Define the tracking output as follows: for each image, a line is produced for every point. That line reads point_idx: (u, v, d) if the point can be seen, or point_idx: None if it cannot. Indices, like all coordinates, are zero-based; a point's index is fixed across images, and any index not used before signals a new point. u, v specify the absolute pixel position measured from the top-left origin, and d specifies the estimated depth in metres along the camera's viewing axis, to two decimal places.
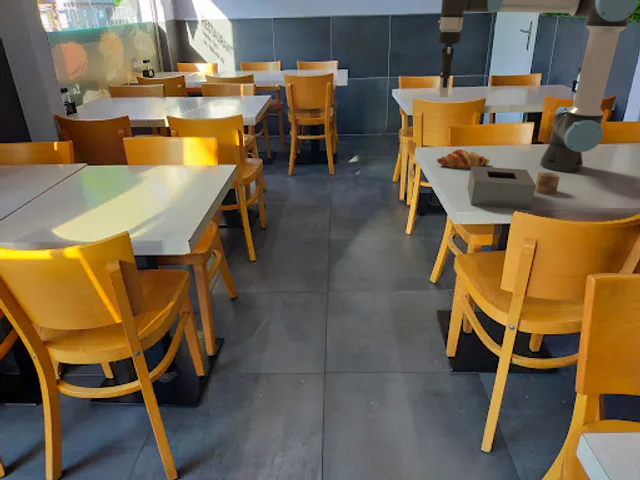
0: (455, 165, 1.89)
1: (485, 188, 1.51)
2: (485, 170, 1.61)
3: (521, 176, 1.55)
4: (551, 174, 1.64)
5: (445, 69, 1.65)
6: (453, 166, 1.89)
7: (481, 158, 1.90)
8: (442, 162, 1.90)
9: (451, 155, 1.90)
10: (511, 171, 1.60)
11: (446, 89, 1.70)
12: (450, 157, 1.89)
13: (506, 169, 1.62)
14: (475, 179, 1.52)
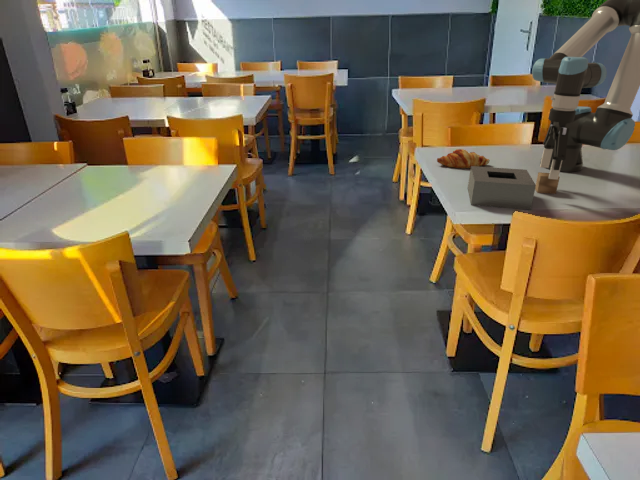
0: (455, 165, 1.89)
1: (485, 188, 1.51)
2: (485, 170, 1.61)
3: (521, 176, 1.55)
4: None
5: (560, 152, 1.51)
6: (453, 166, 1.89)
7: (481, 158, 1.90)
8: (442, 162, 1.90)
9: (451, 155, 1.90)
10: (511, 171, 1.60)
11: (557, 171, 1.56)
12: (450, 157, 1.90)
13: (506, 169, 1.62)
14: (475, 179, 1.52)
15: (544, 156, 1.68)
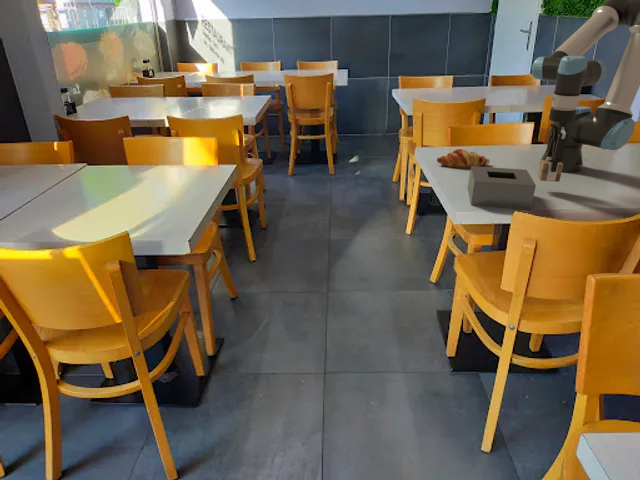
0: (454, 164, 1.89)
1: (485, 188, 1.51)
2: (485, 170, 1.61)
3: (521, 176, 1.55)
4: None
5: (557, 155, 1.56)
6: (452, 165, 1.90)
7: (481, 158, 1.91)
8: (442, 161, 1.91)
9: (451, 154, 1.90)
10: (511, 171, 1.60)
11: (554, 173, 1.61)
12: (450, 156, 1.90)
13: (506, 169, 1.62)
14: (475, 179, 1.52)
15: None
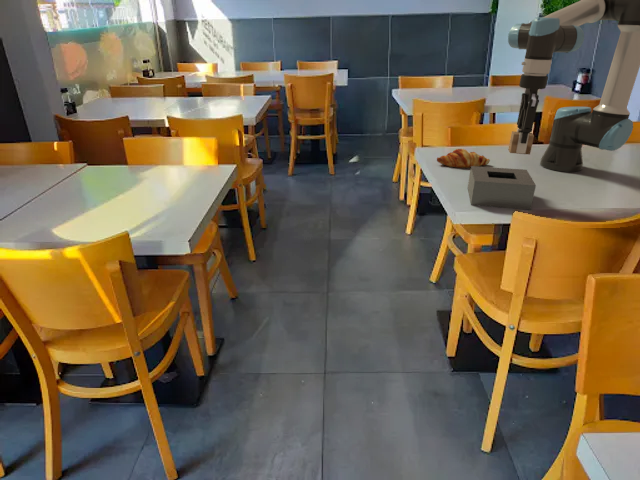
0: (454, 164, 1.89)
1: (485, 188, 1.51)
2: (485, 170, 1.61)
3: (521, 176, 1.55)
4: None
5: (527, 125, 1.46)
6: (452, 165, 1.90)
7: (481, 158, 1.91)
8: (441, 161, 1.91)
9: (451, 154, 1.91)
10: (511, 171, 1.60)
11: (524, 145, 1.51)
12: (450, 156, 1.90)
13: (506, 169, 1.62)
14: (475, 179, 1.52)
15: None
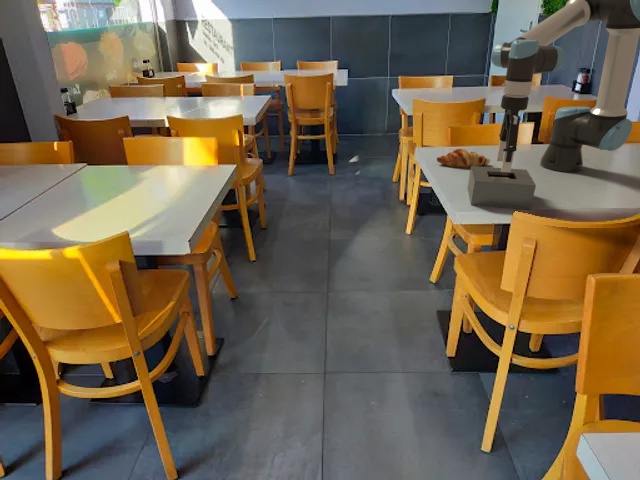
0: (454, 164, 1.90)
1: (485, 188, 1.51)
2: (485, 170, 1.61)
3: (521, 176, 1.55)
4: None
5: (510, 143, 1.43)
6: (452, 165, 1.90)
7: (481, 158, 1.91)
8: (441, 161, 1.91)
9: (451, 154, 1.91)
10: (511, 171, 1.60)
11: (509, 163, 1.48)
12: (449, 156, 1.91)
13: None
14: (475, 179, 1.52)
15: (500, 150, 1.58)
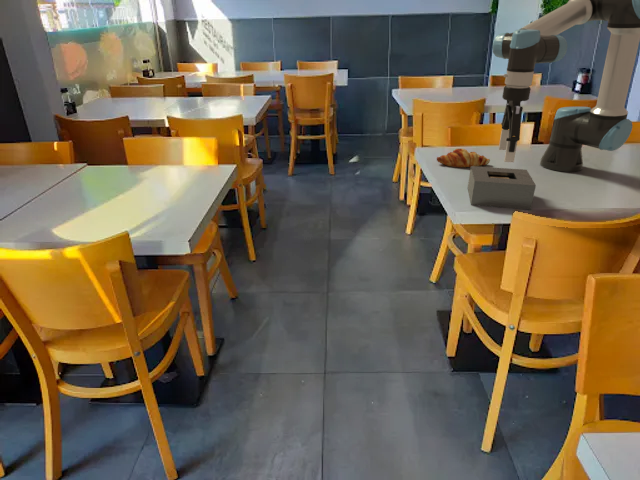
0: (454, 164, 1.90)
1: (485, 188, 1.51)
2: (485, 170, 1.61)
3: (521, 176, 1.55)
4: None
5: (513, 132, 1.41)
6: (452, 165, 1.90)
7: (481, 158, 1.91)
8: (441, 161, 1.92)
9: (450, 154, 1.91)
10: (511, 171, 1.60)
11: (513, 153, 1.46)
12: (449, 156, 1.91)
13: (506, 169, 1.62)
14: (475, 179, 1.52)
15: (503, 138, 1.58)
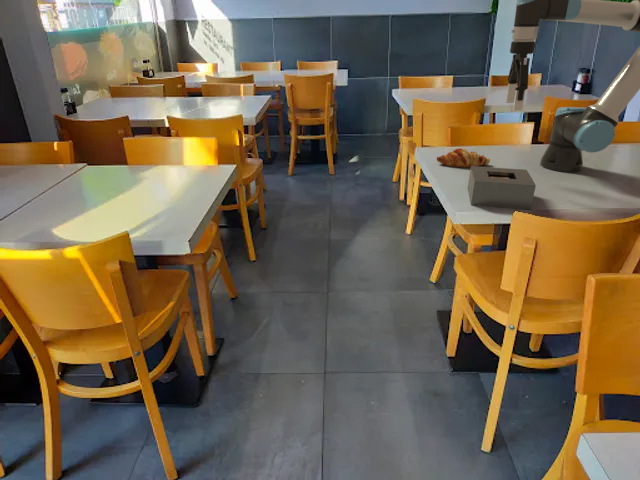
0: (454, 164, 1.90)
1: (485, 188, 1.51)
2: (485, 170, 1.61)
3: (521, 176, 1.55)
4: None
5: (522, 81, 1.57)
6: (452, 165, 1.91)
7: (481, 157, 1.91)
8: (441, 160, 1.92)
9: (450, 154, 1.91)
10: (511, 171, 1.60)
11: (521, 102, 1.61)
12: (449, 156, 1.91)
13: (506, 169, 1.62)
14: (475, 179, 1.52)
15: (509, 92, 1.73)
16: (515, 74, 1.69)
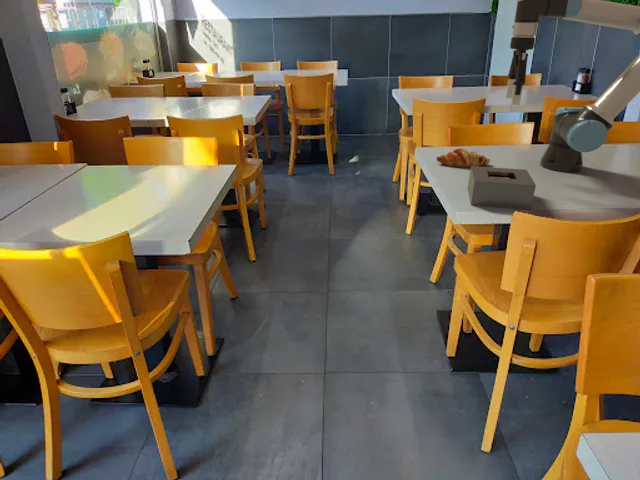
0: (454, 164, 1.90)
1: (485, 188, 1.51)
2: (485, 170, 1.61)
3: (521, 176, 1.55)
4: None
5: (520, 76, 1.60)
6: (452, 164, 1.91)
7: (481, 157, 1.91)
8: (441, 160, 1.92)
9: (450, 154, 1.91)
10: (511, 171, 1.60)
11: (519, 96, 1.65)
12: (449, 156, 1.91)
13: (506, 169, 1.62)
14: (475, 179, 1.52)
15: (509, 87, 1.76)
16: (515, 70, 1.72)
